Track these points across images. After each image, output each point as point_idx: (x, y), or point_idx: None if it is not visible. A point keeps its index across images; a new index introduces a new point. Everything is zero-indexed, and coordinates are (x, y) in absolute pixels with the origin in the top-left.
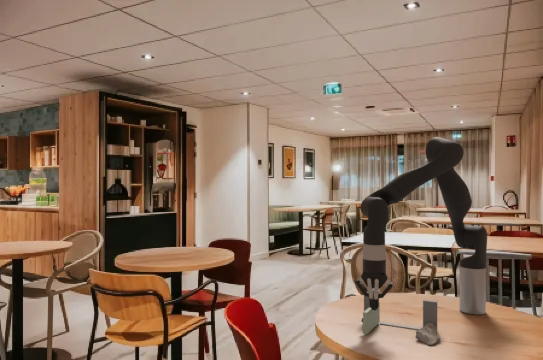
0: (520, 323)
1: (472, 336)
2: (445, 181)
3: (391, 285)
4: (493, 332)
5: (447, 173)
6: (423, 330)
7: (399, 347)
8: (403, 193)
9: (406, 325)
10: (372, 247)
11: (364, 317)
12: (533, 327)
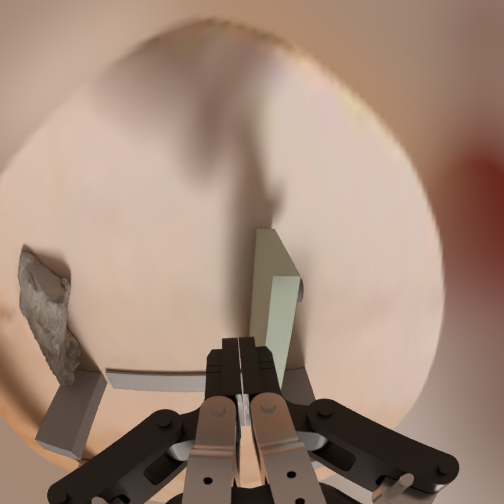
0: (25, 432)
1: (14, 364)
2: None
3: (54, 498)
4: (13, 393)
5: None
6: (48, 319)
7: (91, 169)
8: None
9: (155, 388)
10: None
11: (282, 260)
12: (7, 419)
